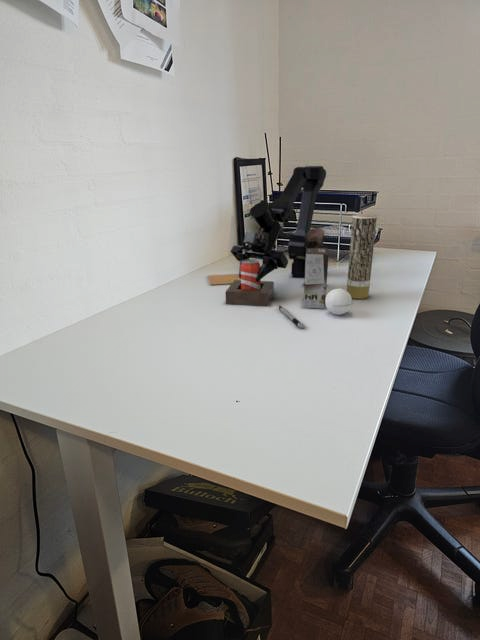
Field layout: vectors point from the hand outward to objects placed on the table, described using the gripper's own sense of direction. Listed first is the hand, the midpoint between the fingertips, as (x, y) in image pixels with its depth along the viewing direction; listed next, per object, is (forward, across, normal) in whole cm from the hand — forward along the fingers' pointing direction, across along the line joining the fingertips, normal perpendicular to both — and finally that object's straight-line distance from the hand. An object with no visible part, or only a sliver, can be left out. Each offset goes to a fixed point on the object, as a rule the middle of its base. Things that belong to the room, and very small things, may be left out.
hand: (247, 279), depth 123 cm
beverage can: (+4, 0, +6) cm, 7 cm away
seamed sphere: (+2, +30, +8) cm, 31 cm away
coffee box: (-1, +19, +10) cm, 22 cm away
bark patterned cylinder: (-10, +27, +20) cm, 35 cm away
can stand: (+4, 0, +6) cm, 7 cm away
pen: (+10, +20, 0) cm, 22 cm away
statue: (-12, +10, +22) cm, 27 cm away
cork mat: (-5, -20, +15) cm, 25 cm away
